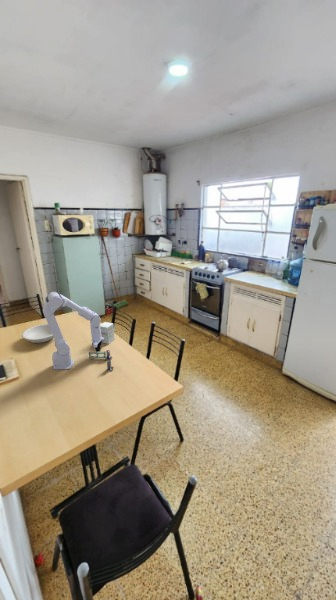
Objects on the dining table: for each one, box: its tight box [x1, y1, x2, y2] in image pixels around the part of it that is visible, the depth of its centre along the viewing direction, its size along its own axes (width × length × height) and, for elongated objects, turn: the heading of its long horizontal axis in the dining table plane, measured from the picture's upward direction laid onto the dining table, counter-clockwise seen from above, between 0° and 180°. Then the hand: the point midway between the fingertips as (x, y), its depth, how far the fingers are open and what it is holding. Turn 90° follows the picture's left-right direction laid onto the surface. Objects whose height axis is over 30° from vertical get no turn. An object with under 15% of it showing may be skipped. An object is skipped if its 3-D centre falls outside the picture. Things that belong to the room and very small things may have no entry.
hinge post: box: [104, 349, 113, 362], centre depth 152 cm, size 4×4×6 cm
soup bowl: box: [21, 323, 61, 344], centre depth 175 cm, size 24×24×7 cm
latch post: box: [106, 359, 114, 372], centre depth 142 cm, size 3×4×6 cm
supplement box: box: [100, 321, 116, 345], centre depth 171 cm, size 7×7×13 cm
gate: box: [88, 350, 107, 360], centre depth 152 cm, size 10×1×4 cm, turn 91°
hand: (98, 351), depth 156 cm, fingers closed
